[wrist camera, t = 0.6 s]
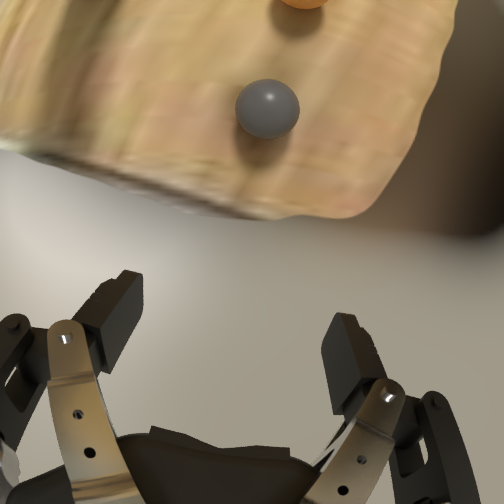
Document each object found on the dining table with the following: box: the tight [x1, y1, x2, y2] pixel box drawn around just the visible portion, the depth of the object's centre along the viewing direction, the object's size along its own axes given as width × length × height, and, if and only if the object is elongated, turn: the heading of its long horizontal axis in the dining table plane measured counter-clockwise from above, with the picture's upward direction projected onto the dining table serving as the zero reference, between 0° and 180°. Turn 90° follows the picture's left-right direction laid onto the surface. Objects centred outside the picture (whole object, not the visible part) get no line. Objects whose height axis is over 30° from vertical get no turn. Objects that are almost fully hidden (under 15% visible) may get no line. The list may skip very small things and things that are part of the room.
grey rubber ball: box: [235, 79, 300, 139], centre depth 21 cm, size 6×6×6 cm
